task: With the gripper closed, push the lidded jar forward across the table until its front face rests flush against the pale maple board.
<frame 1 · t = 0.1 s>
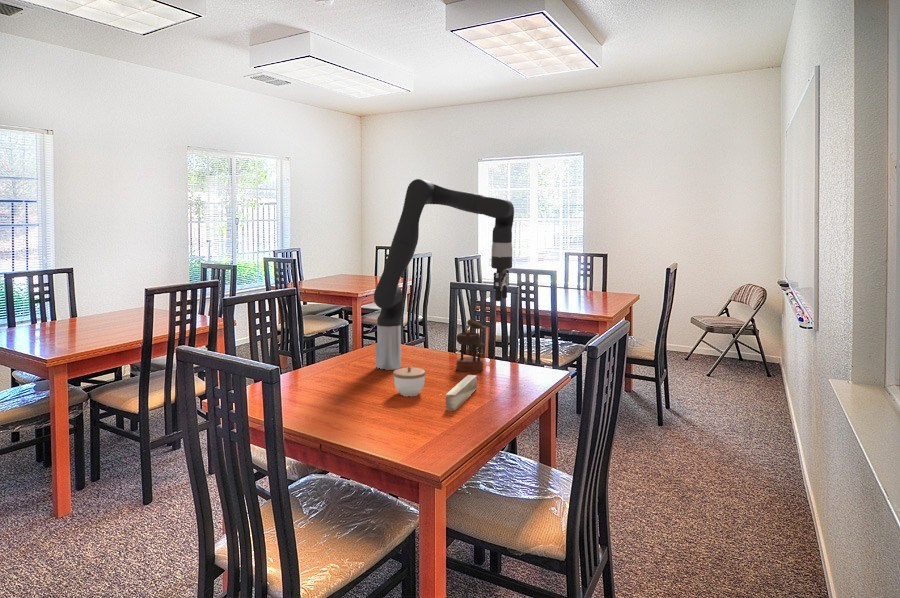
hand: (501, 299, 211), 29 cm above the table, tool pointing down, fingers open, 8 cm apart
music box: (467, 369, 227), on the table
board: (462, 399, 188), on the table
lidded jar: (409, 394, 194), on the table
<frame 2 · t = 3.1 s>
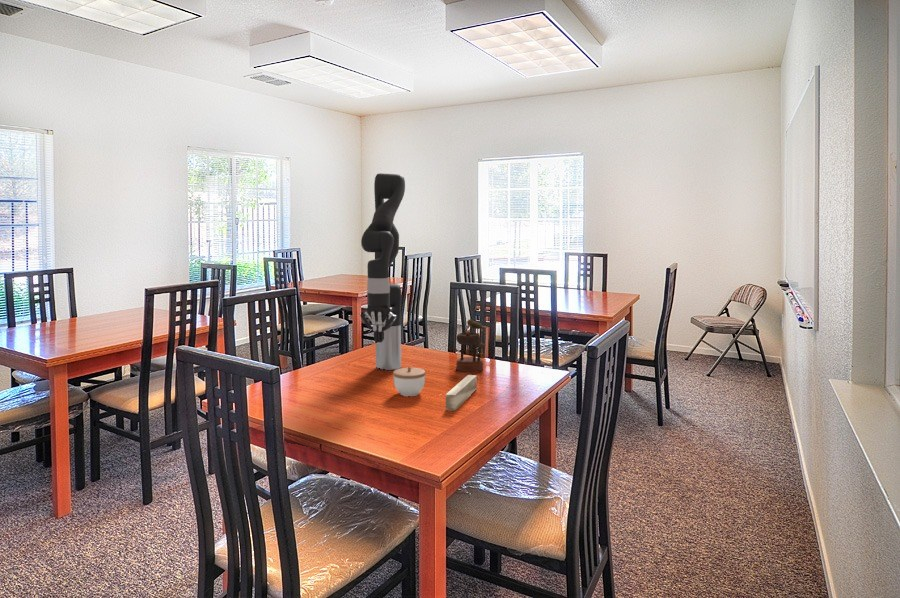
hand: (379, 341, 195), 17 cm above the table, tool pointing down, fingers closed
nothing on the table moved.
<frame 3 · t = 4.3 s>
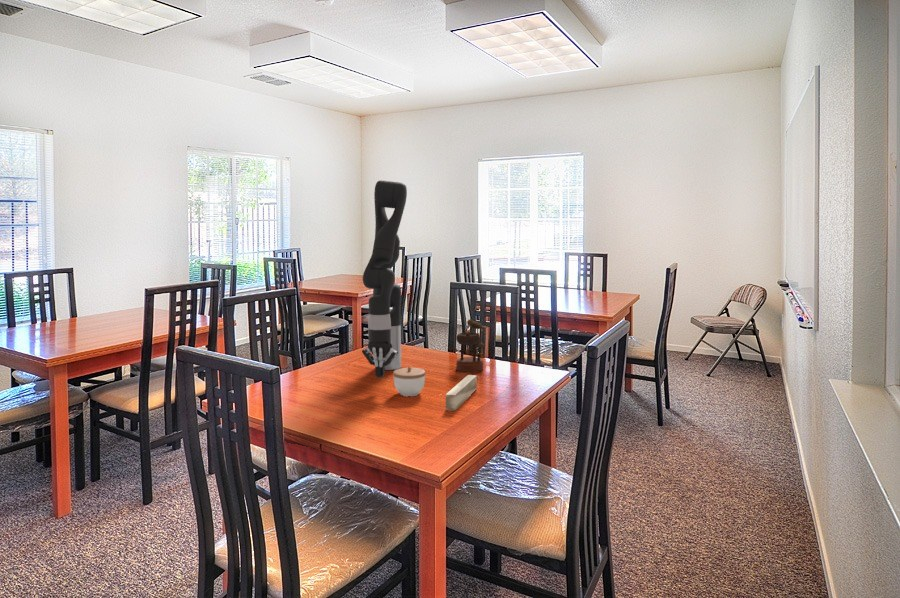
hand: (380, 377, 197), 5 cm above the table, tool pointing down, fingers closed
nothing on the table moved.
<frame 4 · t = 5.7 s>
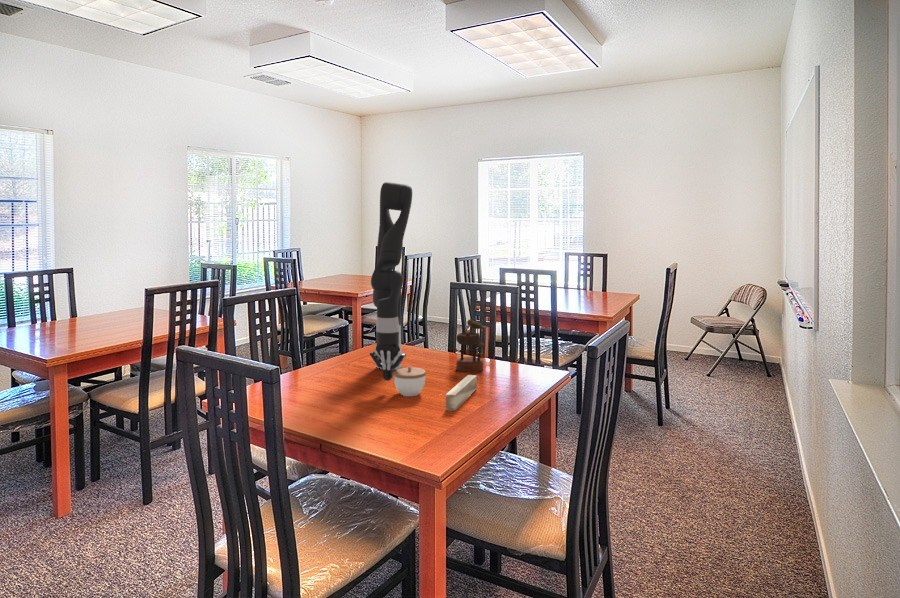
hand: (388, 379, 196), 4 cm above the table, tool pointing down, fingers closed
lidded jar: (409, 394, 194), on the table, touching gripper
everything else where it was.
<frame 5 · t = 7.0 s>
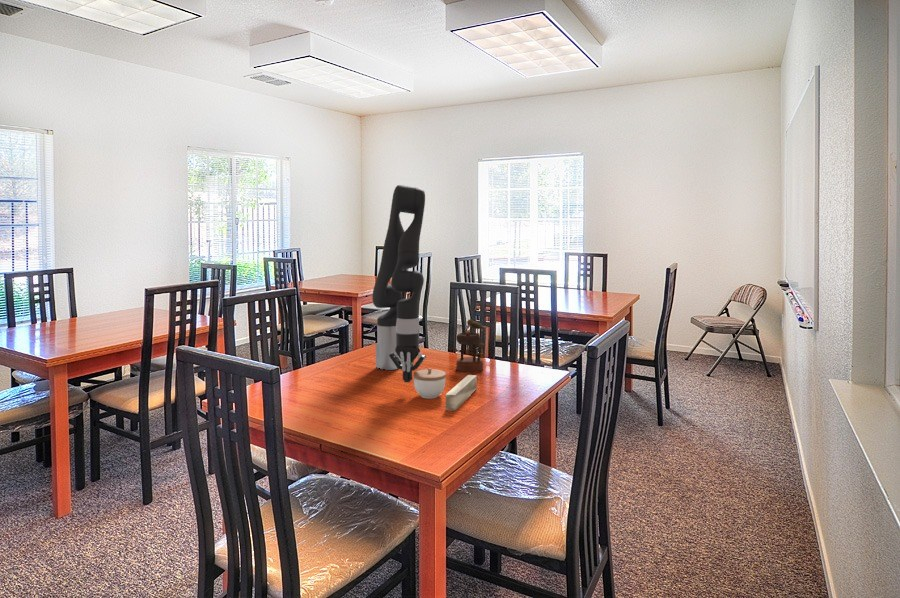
hand: (407, 381, 193), 4 cm above the table, tool pointing down, fingers closed
lidded jar: (429, 396, 192), on the table, touching gripper
everything else where it was.
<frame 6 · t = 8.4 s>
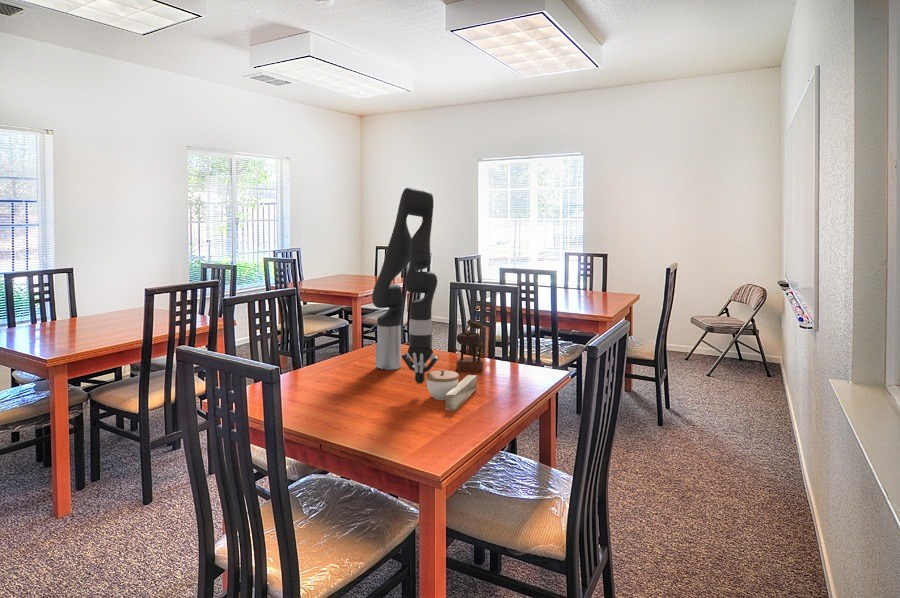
hand: (419, 383, 192), 4 cm above the table, tool pointing down, fingers closed
lidded jar: (442, 397, 190), on the table, touching board, gripper
everything else where it was.
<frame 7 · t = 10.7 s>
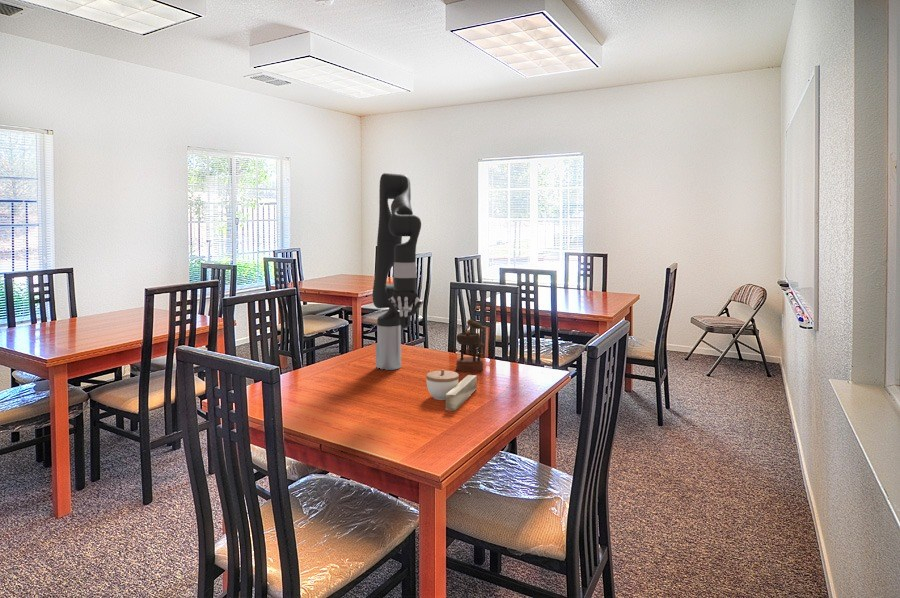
hand: (405, 327, 193), 22 cm above the table, tool pointing down, fingers closed
lidded jar: (442, 397, 190), on the table
everything else where it was.
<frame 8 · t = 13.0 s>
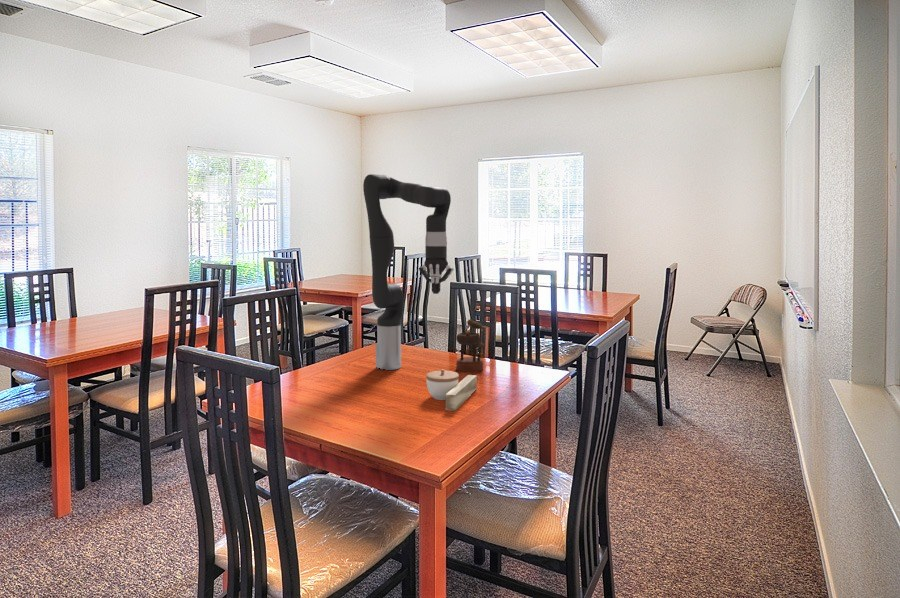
hand: (436, 293, 206), 32 cm above the table, tool pointing down, fingers closed
nothing on the table moved.
at the end: lidded jar inside the target area on the table beside the board (0.5 cm from its centre), on the table; lidded jar tilted 0° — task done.
